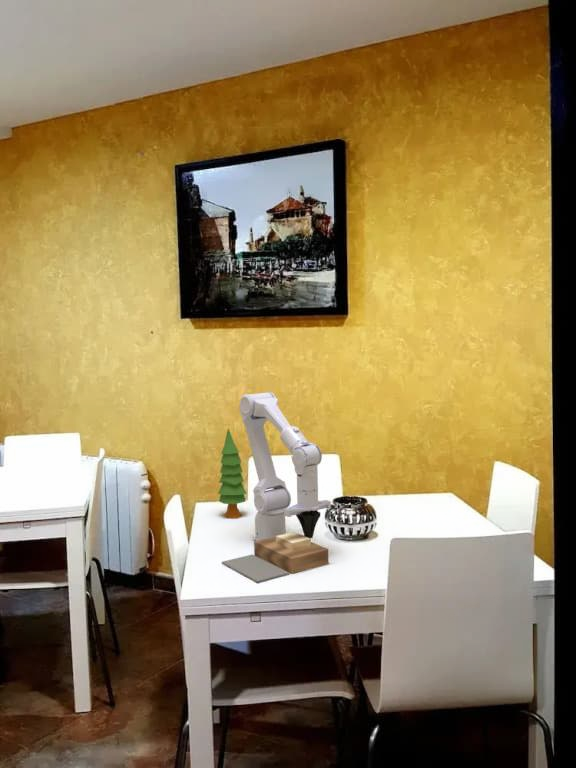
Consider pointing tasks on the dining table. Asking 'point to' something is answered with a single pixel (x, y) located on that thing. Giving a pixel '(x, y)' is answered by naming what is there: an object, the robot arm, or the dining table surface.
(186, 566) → the dining table surface
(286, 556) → the walnut deck
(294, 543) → the birch tile
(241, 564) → the rubber mat
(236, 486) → the decorative tree
